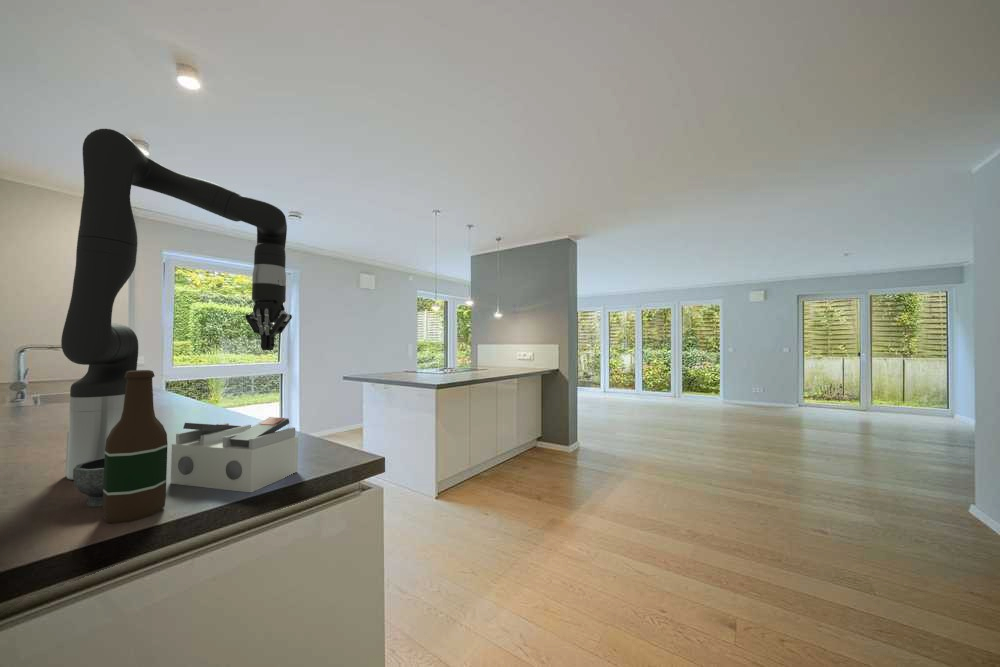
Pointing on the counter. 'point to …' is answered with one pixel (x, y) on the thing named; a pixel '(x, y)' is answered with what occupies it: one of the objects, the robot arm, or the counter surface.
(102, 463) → the mortar and pestle
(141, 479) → the beer bottle
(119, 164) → the robot arm
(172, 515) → the counter surface
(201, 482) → the box
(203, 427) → the bar
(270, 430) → the rocker
